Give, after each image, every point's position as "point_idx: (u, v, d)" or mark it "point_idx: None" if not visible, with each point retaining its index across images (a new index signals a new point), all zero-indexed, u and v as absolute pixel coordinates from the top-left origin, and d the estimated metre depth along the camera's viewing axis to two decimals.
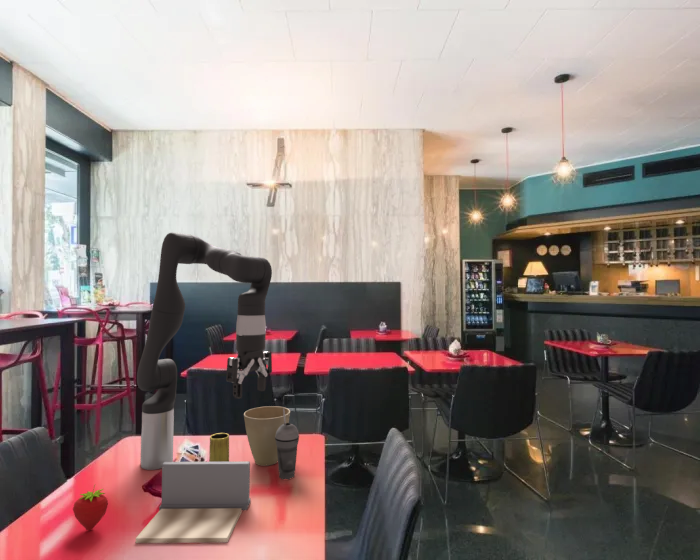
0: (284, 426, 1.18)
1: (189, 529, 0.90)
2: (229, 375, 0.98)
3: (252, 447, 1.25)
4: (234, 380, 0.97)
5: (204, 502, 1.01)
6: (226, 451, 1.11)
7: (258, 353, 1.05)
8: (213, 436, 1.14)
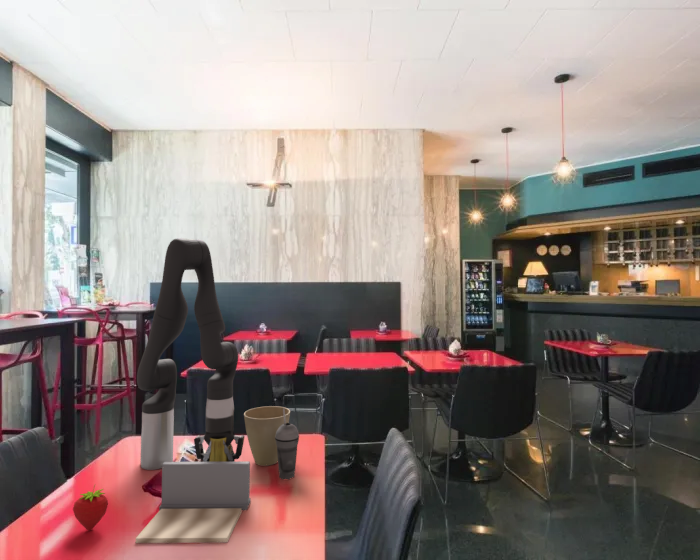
0: (284, 426, 1.18)
1: (189, 529, 0.90)
2: None
3: (252, 447, 1.25)
4: None
5: (204, 502, 1.01)
6: None
7: None
8: None
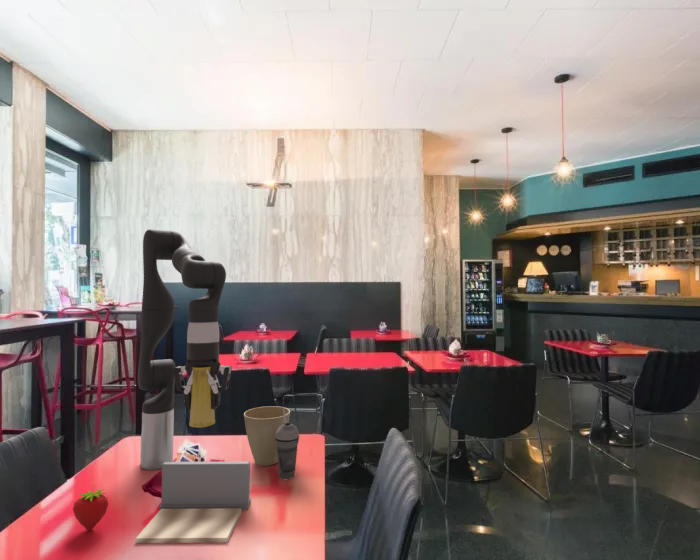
0: (284, 426, 1.18)
1: (189, 529, 0.90)
2: None
3: (252, 447, 1.25)
4: None
5: (204, 502, 1.01)
6: None
7: None
8: None
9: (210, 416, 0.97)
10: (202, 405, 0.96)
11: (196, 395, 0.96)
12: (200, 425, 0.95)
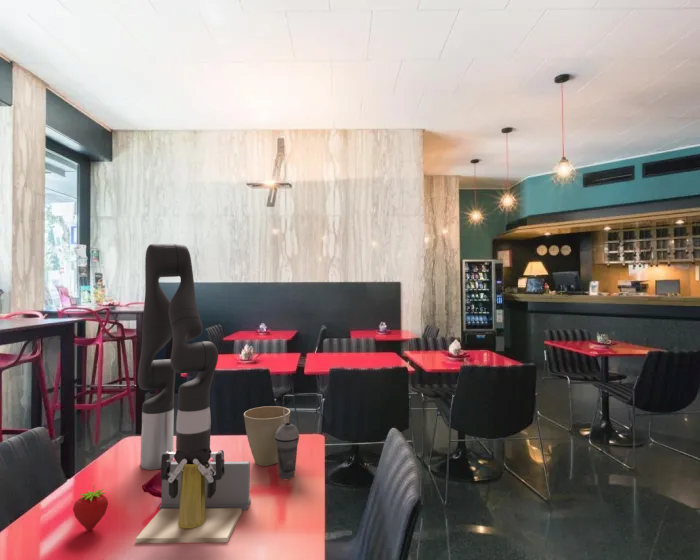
0: (284, 426, 1.18)
1: (189, 529, 0.90)
2: None
3: (252, 447, 1.25)
4: None
5: None
6: (201, 479, 0.92)
7: None
8: None
9: (200, 515, 0.92)
10: (192, 504, 0.91)
11: (186, 494, 0.91)
12: (189, 526, 0.90)
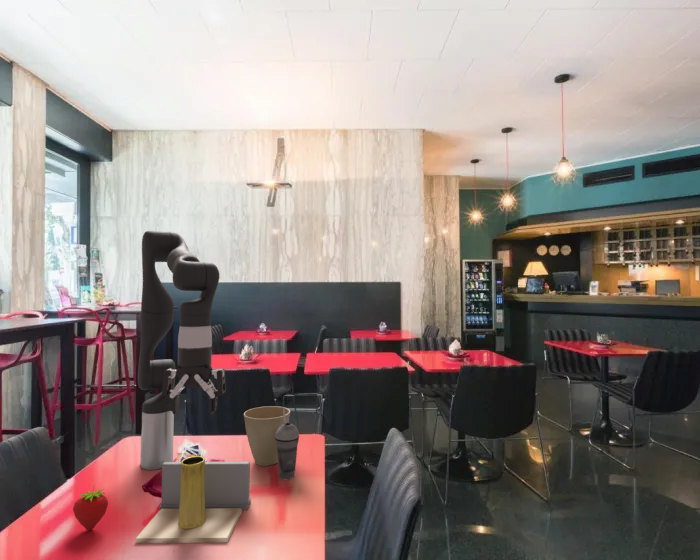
0: (284, 426, 1.18)
1: (189, 529, 0.90)
2: None
3: (252, 447, 1.25)
4: None
5: None
6: (201, 479, 0.92)
7: None
8: (186, 460, 0.94)
9: (200, 515, 0.92)
10: (191, 505, 0.91)
11: (185, 494, 0.91)
12: (189, 527, 0.90)
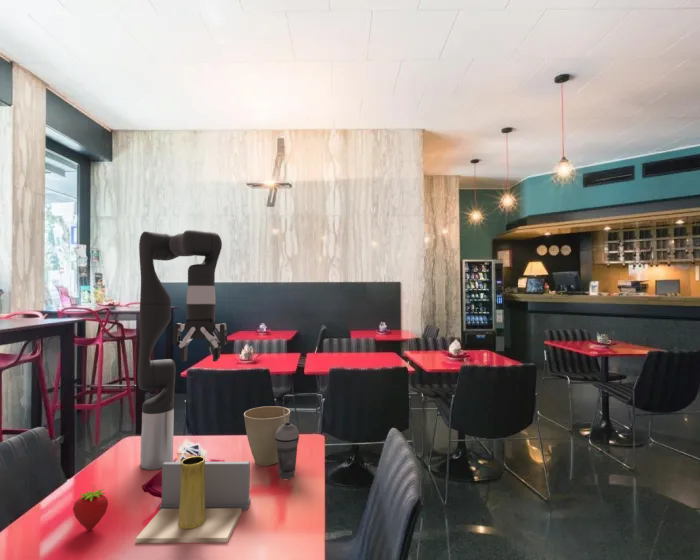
0: (284, 426, 1.18)
1: (189, 529, 0.90)
2: None
3: (252, 447, 1.25)
4: None
5: None
6: (201, 479, 0.92)
7: None
8: (186, 460, 0.94)
9: (200, 515, 0.92)
10: (191, 505, 0.91)
11: (185, 494, 0.91)
12: (189, 527, 0.90)
